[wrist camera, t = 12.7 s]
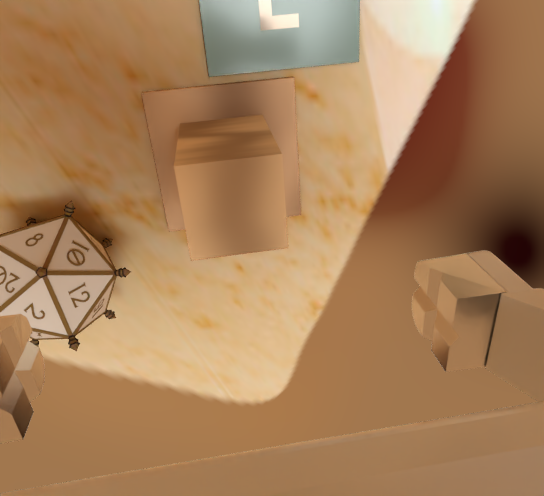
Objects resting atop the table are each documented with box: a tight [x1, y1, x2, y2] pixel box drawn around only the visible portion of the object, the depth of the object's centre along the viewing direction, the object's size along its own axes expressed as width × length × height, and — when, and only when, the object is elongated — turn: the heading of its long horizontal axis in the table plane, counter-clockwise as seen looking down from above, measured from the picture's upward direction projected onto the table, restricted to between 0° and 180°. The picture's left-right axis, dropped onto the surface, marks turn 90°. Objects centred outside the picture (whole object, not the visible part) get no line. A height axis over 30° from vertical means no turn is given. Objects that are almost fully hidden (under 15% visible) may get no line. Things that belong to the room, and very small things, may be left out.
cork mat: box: [141, 77, 301, 232], centre depth 30 cm, size 9×9×1 cm
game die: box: [0, 201, 131, 351], centre depth 28 cm, size 9×8×10 cm
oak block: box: [174, 115, 288, 261], centre depth 27 cm, size 5×5×8 cm
